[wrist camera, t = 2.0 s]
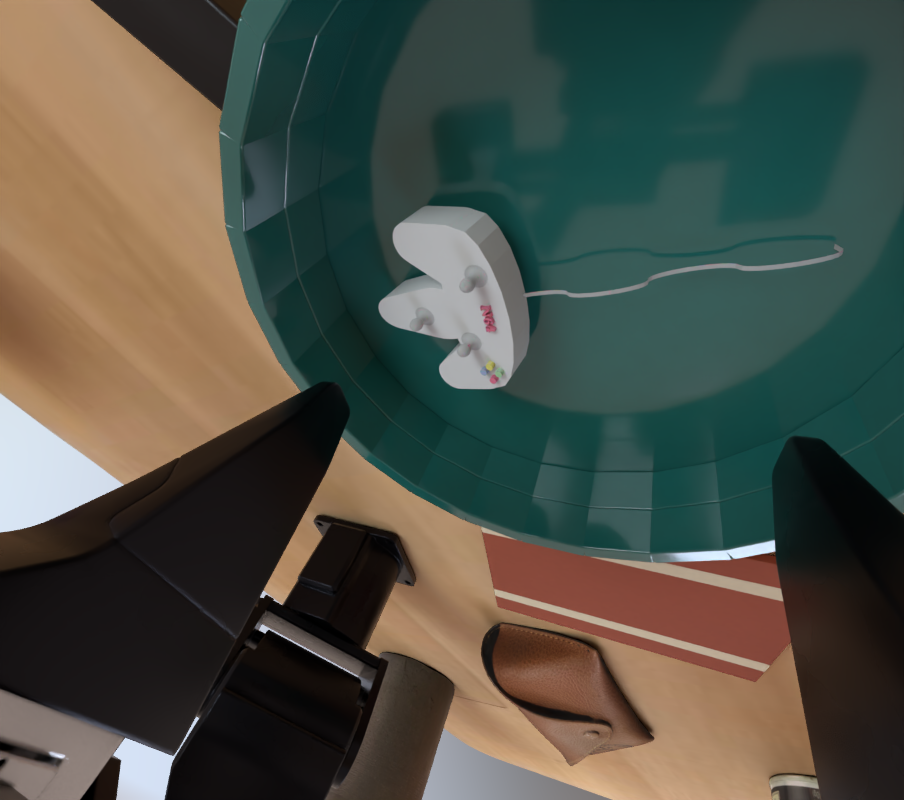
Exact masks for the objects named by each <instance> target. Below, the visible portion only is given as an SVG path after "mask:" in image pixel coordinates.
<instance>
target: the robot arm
mask: <svg viewBox="0 0 904 800" xmlns="http://www.w3.org/2000/svg"><path fill="white" fill-rule="evenodd" d="M349 416H350V408H349V405H348V402H347V400H346V398H345V395H344V393H343V391H342V388H341V386H340V385H339V384H338V383H335V382H327V381H322V382H319V383H317V384H316V385H314V386H312V387H310V388H308V389H306V390H304V391H302V392H301V393H299V394H297V395H295V396H293V397H291V398H289V399H287V400H286V401H284V402H282V403H280V404H278V405H276V406H274V407H272V408H270V409H269V410H267V411H265V412H263V413H261V414H259V415H257V416H255V417H254V418H252V419H250V420H248V421H246V422H244V423H242V424H240V425H239V426H237V427H235V428H233V429H231V430H229V431H227V432H225V433H223V434H222V435H220V436H218V437H216V438H214V439H212V440H210V441H208V442H207V443H205V444H203V445H201V446H199V447H197V448H195V449H193V450H192V451H190V452H188V453H186V454H184V455H182V456H181V457H180V458H176V459H174V460H173V461H171V462H169V463H167V464H165V465H163V466H161V467H159V468H157V469H155V470H154V471H152V472H150V473H148V474H146V475H144V476H142V477H140V478H138V479H136V480H134V481H132V482H130V483H128V484H126V485H123V486H121V487H119V488H117V489H115V490H113V491H111V492H109V493H107V494H105V495H102V496H100V497H98V498H96V499H94V500H92V501H90V502H88V503H85V504H83V505H81V506H79V507H77V508H75V509H73V510H70V511H68V512H66V513H64V514H62V515H60V516H58V517H56V518H53V519H51V520H49V521H46V522H44V523H41V524H38V525H35V526H32V527H28V528H24V529H20V530H15V531H9V532H1V533H0V800H116V797H117V788H118V780H119V772H120V764H121V760H120V759H118V758H116V757H115V756H113V754H114V752H115V751H116V750H117V748H118V747H119V745H120V744H121V742H122V741H123V740H124V739H125V738H128V739H130V740H133V741H136V742H138V743H141V744H143V745H146V746H148V747H151V748H154V749H156V750H159V751H162V752H164V753H167V754H169V755H172V756H173V755H174V754H175V753H176V752H177V750H178V749H179V747H180V745H181V743H182V742H183V740H184V738H185V736H186V734H187V732H188V730H189V728H190V727H191V725H192V723H193V721H194V719H195V718H196V717H198V718H199V720H198V721H197V723H196V725H195V726H194V728H193V729H192V731H191V733H190V734H189V736H188V737H187V739H186V740H185V742H184V744H183V745H182V747H181V749H180V750H179V752H178V753H177V755H176V757H175V759H174V760H173V763H172V766H171V771H170V776H169V781H168V785H167V790H166V795H165V800H325V799H326V797H327V795H328V793H329V791H330V789H331V787H333V788H335V789H337V788H338V787H339V786H340V785H341V784H342V782H343V781H344V780H345V778H346V776H347V774H348V773H349V771H350V769H351V767H352V765H353V763H354V761H355V758H356V756H357V754H358V752H359V749H360V747H361V744H362V742H363V739H364V736H365V733H366V730H367V727H368V724H369V721H370V718H371V715H372V712H373V709H374V706H375V703H376V700H377V697H378V694H379V691H380V688H381V685H382V682H383V679H384V676H385V673H386V670H387V667H388V663H389V661H387V660H386V659H384V658H382V657H381V658H378V657H377V656H375V655H373V654H371V653H369V652H367V651H366V650H365V649H366V646H367V644H368V642H369V640H370V638H371V635H372V633H373V631H374V629H375V627H376V625H377V622H378V620H379V618H380V616H381V614H382V611H383V609H384V607H385V605H386V603H387V600H388V598H389V596H390V594H391V592H392V589H393V587H394V585H395V583H396V582H399V583H402V584H405V585H409V586H414V584H415V582H416V578H415V576H414V573H413V571H412V569H411V566H410V564H409V562H408V560H407V557H406V555H405V553H404V551H403V548H402V546H401V544H400V542H399V539H398V538H397V536H395V535H394V534H392V533H389V532H385V531H381V530H377V529H373V528H369V527H365V526H361V525H357V524H353V523H349V522H345V521H341V520H337V519H333V518H329V517H325V516H322V515H317V516H316V518H315V519H314V523H315V525H316V527H317V528H318V530H319V531H320V533H321V534H322V536H323V537H322V539H321V540H320V542H319V544H318V545H317V547H316V548H315V550H314V552H313V553H312V555H311V557H310V558H309V560H308V561H307V563H306V565H305V566H304V568H303V569H302V571H301V573H300V574H299V576H298V581H297V582H296V584H295V586H294V587H293V589H292V590H291V592H290V594H289V595H288V597H287V598H286V600H285V602H284V603H283V605H281V604H279V603H277V602H275V601H273V600H274V599H273V598H271V597H270V596H268V595H266V596H265V597H264V598H260V595H261V594H262V592H263V590H264V588H265V586H266V584H267V582H268V580H269V579H270V577H271V575H272V573H273V571H274V569H275V567H276V566H277V564H278V562H279V560H280V558H281V556H282V554H283V552H284V551H285V549H286V547H287V545H288V543H289V541H290V539H291V538H292V536H293V534H294V532H295V530H296V528H297V526H298V524H299V523H300V521H301V519H302V517H303V515H304V513H305V511H306V509H307V508H308V506H309V504H310V502H311V500H312V498H313V496H314V495H315V493H316V491H317V489H318V487H319V485H320V483H321V481H322V480H323V478H324V476H325V474H326V472H327V470H328V467H329V465H330V463H331V461H332V458H333V456H334V453H335V451H336V448H337V446H338V444H339V441H340V439H341V436H342V434H343V431H344V429H345V426H346V424H347V422H348V419H349ZM772 492H773V513H774V535H775V553H776V563H777V570H778V576H779V581H780V587H781V592H782V597H783V603H784V608H785V613H786V618H787V624H788V629H789V634H790V639H791V645H792V650H793V655H794V661H795V666H796V671H797V676H798V682H799V687H800V692H801V698H802V703H803V708H804V713H805V719H806V724H807V729H808V735H809V740H810V745H811V750H812V756H813V761H814V766H815V772H816V777H817V782H818V787H819V793H820V798H821V800H904V514H903V513H902V512H900V511H899V510H898V509H897V508H896V507H895V506H894V505H893V504H892V503H891V502H890V501H889V500H888V499H886V498H885V497H884V496H883V495H882V494H881V493H880V492H879V491H878V490H877V489H876V488H875V487H874V486H873V485H871V484H870V483H869V482H868V481H867V480H866V479H865V478H864V477H863V476H862V475H861V474H860V473H859V472H857V471H856V470H855V469H854V468H853V467H852V466H851V465H850V464H849V463H848V462H847V461H846V460H845V459H844V458H842V457H841V456H840V455H839V454H838V453H837V452H836V451H835V450H834V449H833V448H832V447H831V446H830V445H828V444H827V443H826V442H825V441H824V440H822V439H819V438H814V437H805V436H791V437H790V438H789V439H788V440H787V441H786V443H785V445H784V447H783V449H782V451H781V454H780V456H779V458H778V460H777V462H776V464H775V466H774V469H773V473H772ZM262 624H263V625H265V626H267V627H269V628H270V629H272V630H274V631H276V632H278V633H280V634H282V635H283V636H285V637H287V638H289V639H291V640H293V641H295V642H297V643H298V644H300V645H302V646H304V647H306V648H308V649H310V650H311V651H313V652H315V653H317V654H319V655H321V656H322V657H325V658H326V659H328V660H330V661H332V662H334V663H336V664H337V665H339V666H341V667H343V668H345V669H347V670H349V671H350V672H353V673H354V674H356V675H358V676H359V677H356V676H354V675H352V674H350V673H348V672H346V671H344V670H343V669H341V668H339V667H337V666H335V665H333V664H332V663H329V662H327V661H326V660H324V659H322V658H320V657H318V656H317V655H315V654H313V653H311V652H309V651H307V650H306V649H304V648H302V647H300V646H298V645H296V644H294V643H293V642H291V641H289V640H287V639H285V638H283V637H281V636H279V635H278V634H276V633H274V632H272V631H270V630H268V631H267V632H266V634H265V633H263V632H261V631H259V629H260V627H261V625H262Z"/></svg>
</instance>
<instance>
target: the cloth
mask: <svg viewBox="0 0 904 800" xmlns="http://www.w3.org/2000/svg"><path fill="white" fill-rule="evenodd" d="M481 529H482V533H483V538H484V543H485V548H486V553H487V557H488V562H489V567H490V572H491V576H492V581H493V586H494V591H495V596H496V600H497V605H498V607H500V608H503V609H507V610H510V611H513V612H517V613H520V614H524V615H527V616H531V617H534V618H537V619H541V620H544V621H548V622H551V623H555V624H558V625H561V626H565V627H568V628H572V629H575V630H579V631H582V632H586V633H589V634H592V635H596V636H599V637H603V638H606V639H610V640H613V641H616V642H620V643H623V644H627V645H630V646H634V647H637V648H640V649H644V650H647V651H651V652H654V653H658V654H661V655H664V656H668V657H671V658H675V659H678V660H682V661H685V662H688V663H692V664H695V665H699V666H702V667H706V668H709V669H712V670H716V671H719V672H723V673H726V674H730V675H733V676H736V677H740V678H743V679H747V680H750V681H754V682H756V681H757V680H758V679H759V677H760V676H761V675H762V674H763V673H764V672H765V671H766V670H767V669H768V668H769V666H770V665H771V664H772V663H773V661H774V660H775V659H776V658H777V657H778V656H779V655H780V653H781V652H782V651H783V650H784V649H785V648H786V647H787V645H788V644H789V643H790V642H791V639H790V634H789V629H788V624H787V618H786V613H785V608H784V603H783V597H782V592H781V587H780V581H779V576H778V570H777V563H776V556H771V555H766V554H761V555H756V556H751V557H746V558H740V559H733V560H719V561H694V562H670V563H655V562H654V563H650V562H639V561H629V560H619V559H608V558H598V557H588V556H585V555H584V556H581V555H577V554H572V553H568V552H564V551H559V550H555V549H551V548H546V547H542V546H538V545H533V544H529V543H525V542H522V541H518V540H516V539H513V538H510V537H508V536H505V535H502V534H500V533H497V532H494V531H492V530H489V529H486V528H483V527H481Z"/></svg>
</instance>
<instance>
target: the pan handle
mask: <svg viewBox="0 0 904 800" xmlns="http://www.w3.org/2000/svg"><path fill="white" fill-rule="evenodd" d="M91 1H93V2H94V3H95V4H96V5H97V6H98V7H100V8H101V9H102V10H103V11H104V12H106V13H107V14H108V15H109V16H110V17H111V18H113V19H114V20H115V21H116V22H117V23H119V24H120V25H121V26H122V27H123V28H124V29H126V30H127V31H128V32H129V33H130V34H132V35H133V36H134V37H135V38H136V39H137V40H139V41H140V42H141V43H142V44H143V45H145V46H146V47H147V48H148V49H149V50H150V51H152V52H153V53H154V54H155V55H156V56H158V57H159V58H160V59H161V60H162V61H163V62H165V63H166V64H167V65H168V66H169V67H171V68H172V69H173V70H174V71H175V72H176V73H178V74H179V75H180V76H181V77H182V78H183V79H185V80H186V81H187V82H188V83H189V84H191V85H192V86H193V87H194V88H195V89H196V90H198V91H199V92H200V93H201V94H202V95H204V96H205V97H206V98H207V99H208V100H209V101H211V102H212V103H213V104H214V105H215V106H217V107H218V108H219V109H220V110H221V111H222V109H223V103H224V98H225V92H226V87H227V81H228V76H229V70H230V65H231V59H232V54H233V48H234V43H235V37H236V32H237V26H238V21H239V18H240V17H241V11H242V9H243V7H244V5H245V3H246V1H247V0H91Z"/></svg>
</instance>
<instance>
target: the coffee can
mask: <svg viewBox="0 0 904 800" xmlns="http://www.w3.org/2000/svg"><path fill="white" fill-rule="evenodd" d="M769 785H770V788H771V795H772V800H821V798H820V793H819V787H818V782H817V777H811V776H804V775H796V774H783V775H776V776H773V777H772V778H770V780H769Z"/></svg>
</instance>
